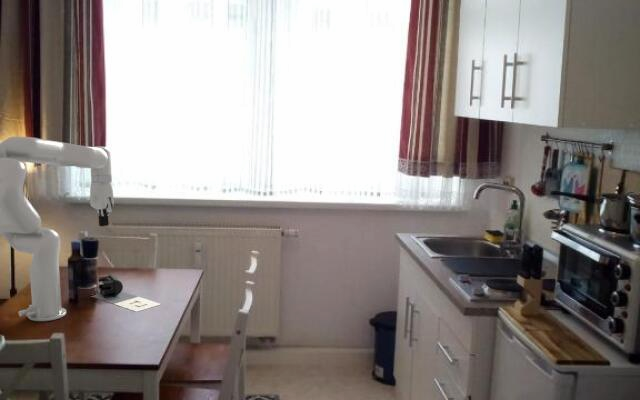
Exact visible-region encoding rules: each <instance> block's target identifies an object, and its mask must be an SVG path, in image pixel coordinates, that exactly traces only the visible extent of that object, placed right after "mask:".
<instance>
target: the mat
mask: <svg viewBox="0 0 640 400" xmlns="http://www.w3.org/2000/svg"><path fill="white" fill-rule="evenodd" d="M95 294H96V295H94V296H91V297H92V298H94V299H98V300H101V301H104V302H106V303H109V304H112V305H115V303H119V302H122V301H126V300H129V299H133V298H136V297H138V296H136V295H134V294H130V293H127V292H124V291H123V290H122V291H121V293H119V294H118V295H117V296H115V297H110V298H104V297H103V296H102V295H101V294H100V292H98V293H95Z"/></svg>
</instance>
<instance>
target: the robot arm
mask: <svg viewBox="0 0 640 400" xmlns="http://www.w3.org/2000/svg"><path fill="white" fill-rule="evenodd" d="M111 157H112V156H111V149H110V147H108V146H85V145H80V144H73V143H68V142H63V141H62V142H61V141H57V140H56V141H55V140H49V139H44V138H38V137H32V136H10V137H8V138H5V140H3V141H1V142H0V235H1V236H2V237H3V238H4V240H6V242H7V243H8V244H9V245H10V247H11V248H12V249H14V250H15V251H16V252H18V253H22V254H23V253H24V254H29V255H33V256H32V260H31V261H30V264H29V279H30V281H29V282H30V294H31V295H30V297H31V304H29V305H28V308H27V309H22V310H19V311H18V315H19V317H24V316H26V317H27V318H28V319H29V320H30V321H32V322H33V321H34V322H49V321H54V320H57V319H61V318H63V317H64V316H66V315H67V309H66V308H64V307H62V296H61V293H62V292H61V276H60V265H59V264H60V262H59V261H60V251H61V250H60V249H61V242H62V241H61V237H60V235H59V233H58V232H56V231H55V230H54V229H52V228H48V227H41V226H42V219H41V216H40V214H39V213H38V211H37V210H36V209H35V207H34V206H33V205H32V203H31V202H30V201H29V200H28V198H27V196H26V195H25V193H24V183H25V180H26V176H27V168H26V166H25V163H30V164H31V163H32V164H39V165H40V164H41V165H47V166H55V167H56V166H58V167H76V168H80V169H90V181H91V182H90V188H89V189H90V190H89V199H90V200H89V204H90V206H91V208H93V209H94V210H96V213H97V216H98V226H100V227H107V226H109V225H110V223H109V215H110V213H111V212H113V208H114V203H115V201H114V192H113V191H114V190H113V184H112V181H113V180H112V178H113V177H112V162H111V161H112V159H111Z"/></svg>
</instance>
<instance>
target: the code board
mask: <svg viewBox="0 0 640 400" xmlns="http://www.w3.org/2000/svg"><path fill="white" fill-rule="evenodd" d="M114 305H116V306H119V307H121V308H125V309H128V310H131V311H133V312H137V313H138V312H141V311H145V310H147V309H151V308H154V307H157V306H161V305H162V303H159V302H156V301H152V300H150V299H147V298H143V297H140V296H137V297H136V298H133V299H129V300H126V301H122V302H119V303H115V304H114Z"/></svg>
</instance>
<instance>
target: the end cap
mask: <svg viewBox="0 0 640 400" xmlns="http://www.w3.org/2000/svg"><path fill="white" fill-rule="evenodd" d="M97 282H99V283H100V282H102V284H98V290H99V291H98V293H100V294H101V295H102V296H103V297H104V298H110V297H115V296H117V295H118V294H119V293H121V291H122V292H123V288H124V287H123V286H124V285H123V283H122V281H120V280H119V278H117V277H116V275H114V274H112V273H108V276H106V275H105V276H100V277H98V281H97Z"/></svg>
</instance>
